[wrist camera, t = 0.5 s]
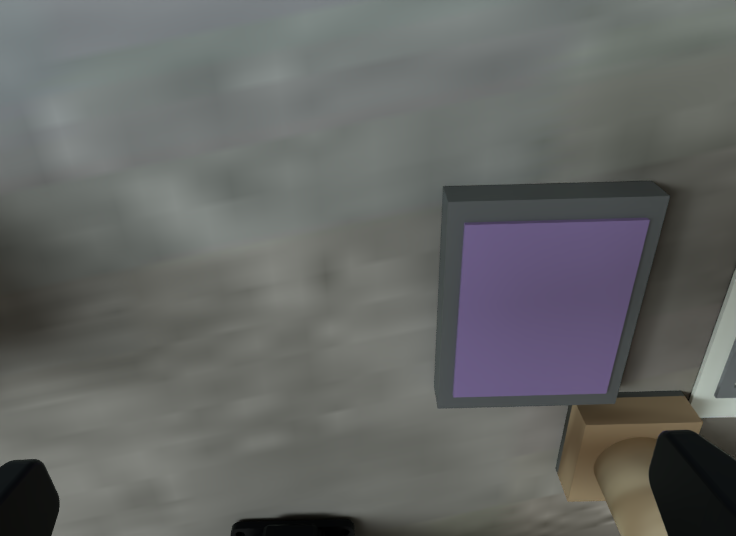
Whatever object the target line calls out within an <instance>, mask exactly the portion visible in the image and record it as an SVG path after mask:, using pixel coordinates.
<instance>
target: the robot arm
mask: <svg viewBox="0 0 736 536" xmlns="http://www.w3.org/2000/svg"><path fill="white" fill-rule="evenodd" d="M648 476H649V483H650V487H651V490H652V492H653V495H654V498H655V501H656V504H657V507H658V509H659V512H660V515H661V518H662V521H663V523H664V526H665V529H666V532H667V535H668V536H736V460H735V459H734V458H732V457H731V456H730V455H728V454H727V453H725V452H724V451H722V450H721V449H719V448H718V447H716V446H715V445H713V444H712V443H711V442H709V441H708V440H706V439H705V438H703V437H702V436H700V435H699V434H697V433H696V432H694V431H691V430H666V431H662V432H661V433H660V434H659V436H658V438H657V441H656V445H655V449H654V452H653V456H652V459H651V463H650V466H649V475H648ZM59 503H60V502H59V496H58V493H57V491H56V489H55V487H54V484H53V482H52V480H51V478H50V476H49V474H48V472H47V469H46V467H45V465H44V464H43V463H42V462H41V461H40V460H37V459H27V460H13V461H9V462H7V463H5V464H4V465H2V466H1V467H0V536H51V535H52V532H53V528H54V525H55V522H56V519H57V516H58V512H59ZM231 536H355V530H354V523H353V522H352V521H350V520H345V519H340V520H300V521H260V522H237V523H235V524H234V525H233V526H232V530H231Z"/></svg>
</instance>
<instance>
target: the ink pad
mask: <svg viewBox="0 0 736 536" xmlns="http://www.w3.org/2000/svg"><path fill="white" fill-rule="evenodd" d="M669 199H670V195H668V194H667V193H666V192H665V191H664V190H662V189H661V188H660V187H659V186H657V185H656V184H655V183H654V182H653V181H630V182H593V183H557V184H520V185H483V186H446V187H443V200H442V222H441V244H440V266H439V288H438V310H437V332H436V354H435V376H434V389H435V395H436V401H437V407H438V408H477V407H516V406H555V405H594V404H615V402H616V399H617V395H618V391H619V387H620V383H621V380H622V376H623V372H624V368H625V365H626V361H627V357H628V353H629V349H630V346H631V342H632V338H633V334H634V331H635V327H636V323H637V319H638V315H639V312H640V308H641V304H642V300H643V297H644V293H645V289H646V285H647V282H648V278H649V274H650V270H651V266H652V263H653V259H654V255H655V251H656V248H657V244H658V240H659V236H660V232H661V229H662V225H663V221H664V217H665V214H666V210H667V206H668V202H669Z"/></svg>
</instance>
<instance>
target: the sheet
mask: <svg viewBox="0 0 736 536" xmlns="http://www.w3.org/2000/svg"><path fill="white" fill-rule="evenodd" d="M689 403H690V404H691V406H692V407H693V409H694V410H695V411H696V413H697V414H698V416H699V417H700V418H717V417H736V268H735V271H734V274H733V277H732V280H731V283H730V285H729V288H728V291H727V294H726V297H725V300H724V303H723V305H722V308H721V311H720V314H719V317H718V320H717V322H716V325H715V328H714V331H713V334H712V337H711V339H710V342H709V345H708V348H707V351H706V354H705V356H704V359H703V362H702V365H701V368H700V371H699V373H698V376H697V379H696V382H695V385H694V388H693V390H692V393H691V396H690V399H689Z"/></svg>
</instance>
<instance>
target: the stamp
mask: <svg viewBox="0 0 736 536" xmlns="http://www.w3.org/2000/svg"><path fill="white" fill-rule="evenodd" d="M702 424H703V421H702V420H701V419H700V417H699V416H698V414H697V413H696V411H695V410H694V409H693V407H692V406H691V404H690V403H689V402H688V400H687V399H686V397H685V396H684V395H683V393H682V392H681V391H646V392H618V395H617V399H616V402H615V404H594V405H569V406H568V411H567V416H566V421H565V425H564V430H563V435H562V440H561V445H560V449H559V454H558V459H557V464H556V471H557V474H558V476H559V479H560V482H561V485H562V487H563V490H564V493H565V495H566V498H567V501H568V502H574V501H606V502H607V504H608V507H609V509H610V511H611V514H612V516H613V518H614V521H615V523H616V525H617V527H618V530H619V532H620V534H621V536H668V535H667V532H666V529H665V526H664V523H663V521H662V518H661V515H660V512H659V509H658V507H657V504H656V501H655V498H654V495H653V492H652V490H651V487H650V483H649V476H648V475H649V466H650V463H651V459H652V456H653V452H654V449H655V445H656V441H657V438H658V436H659V434H660V433H661V432H662V431H666V430H691V431H694V432H696V433H697V434H699V432H700V429H701V426H702Z"/></svg>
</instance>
